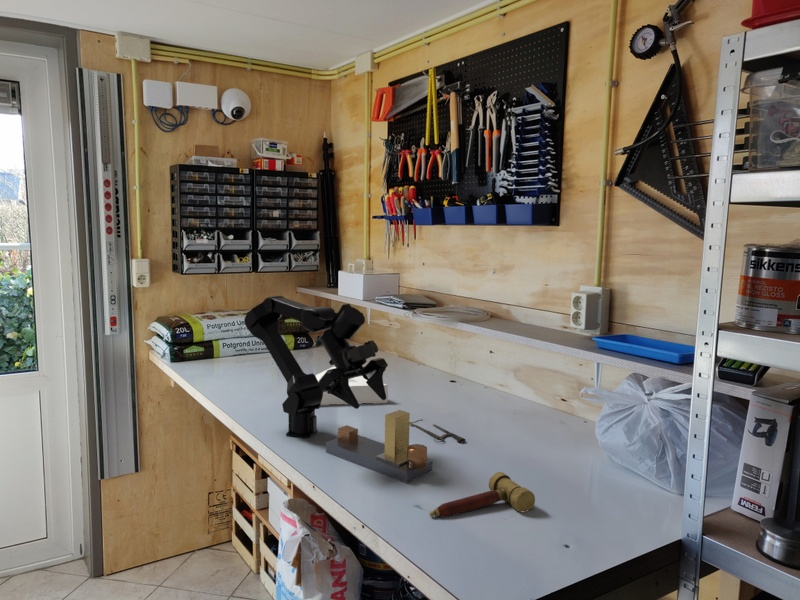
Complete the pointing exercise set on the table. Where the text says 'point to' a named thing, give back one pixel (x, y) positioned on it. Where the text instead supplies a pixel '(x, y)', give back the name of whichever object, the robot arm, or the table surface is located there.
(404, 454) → the brushed brass block
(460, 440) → the bar clamp
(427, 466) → the plane body
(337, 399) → the triangle block
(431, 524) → the table surface
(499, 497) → the gavel
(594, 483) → the table surface
